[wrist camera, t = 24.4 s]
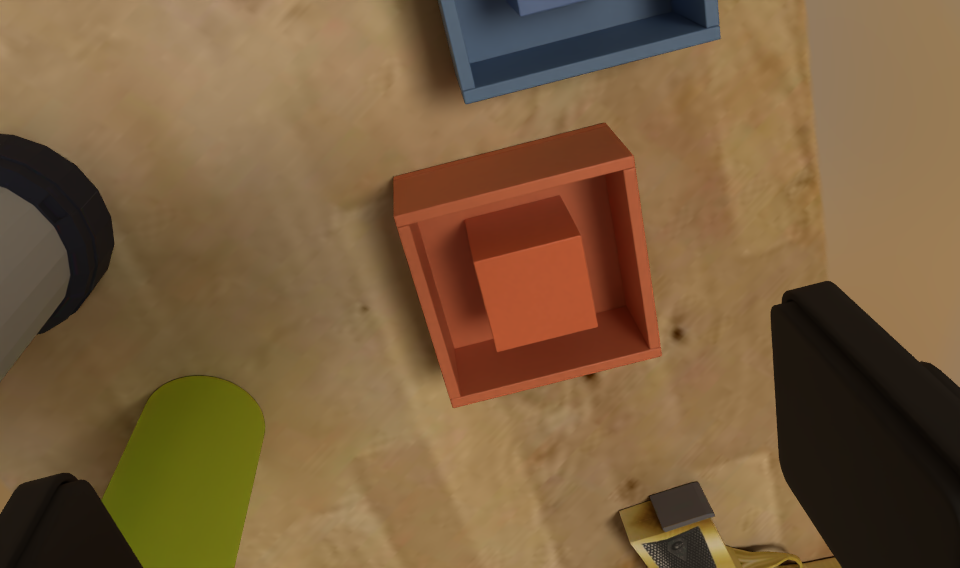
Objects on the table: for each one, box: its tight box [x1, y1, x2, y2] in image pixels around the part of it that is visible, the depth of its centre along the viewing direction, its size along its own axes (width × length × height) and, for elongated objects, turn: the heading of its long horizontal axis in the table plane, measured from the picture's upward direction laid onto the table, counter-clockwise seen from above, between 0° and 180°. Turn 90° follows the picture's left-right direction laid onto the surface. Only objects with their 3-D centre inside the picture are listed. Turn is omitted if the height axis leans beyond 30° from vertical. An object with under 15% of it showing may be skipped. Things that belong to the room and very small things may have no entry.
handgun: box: [619, 482, 842, 568], centre depth 46 cm, size 2×19×12 cm
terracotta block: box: [464, 195, 598, 352], centre depth 34 cm, size 4×4×4 cm
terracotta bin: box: [393, 123, 662, 408], centre depth 34 cm, size 10×10×4 cm
